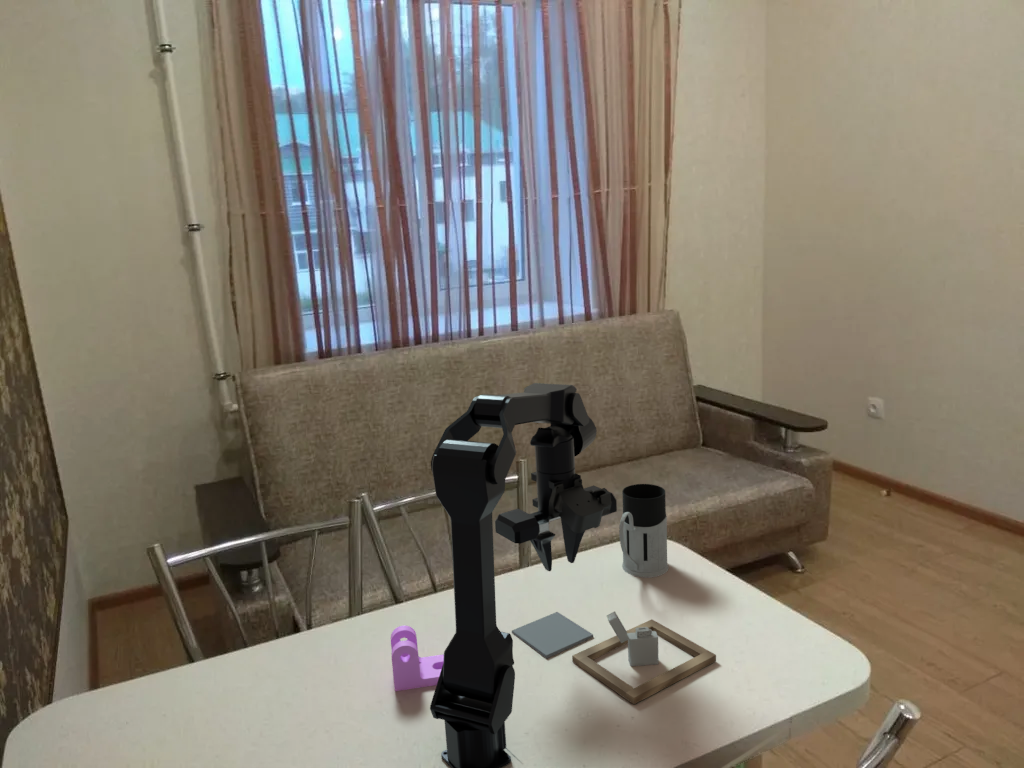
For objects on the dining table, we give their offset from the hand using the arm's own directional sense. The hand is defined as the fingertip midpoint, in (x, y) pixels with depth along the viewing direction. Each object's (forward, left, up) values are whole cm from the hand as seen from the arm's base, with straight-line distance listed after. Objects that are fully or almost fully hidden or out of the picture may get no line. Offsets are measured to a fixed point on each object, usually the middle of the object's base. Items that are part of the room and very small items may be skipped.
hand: (559, 566), depth 120 cm
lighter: (+4, -11, -12) cm, 17 cm away
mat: (-1, +2, -12) cm, 12 cm away
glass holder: (+23, +8, -12) cm, 27 cm away
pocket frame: (+5, -12, -12) cm, 18 cm away
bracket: (-20, +4, -12) cm, 23 cm away
